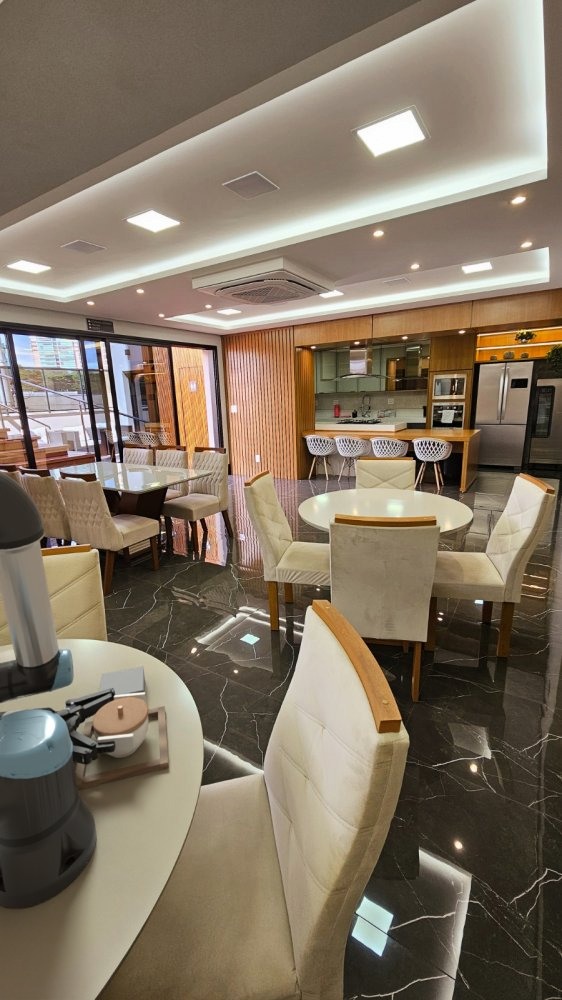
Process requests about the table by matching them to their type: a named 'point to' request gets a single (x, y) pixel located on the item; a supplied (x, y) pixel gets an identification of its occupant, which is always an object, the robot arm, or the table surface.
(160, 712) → the walnut collar
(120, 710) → the lidded jar
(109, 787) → the table surface
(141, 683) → the gray stand
